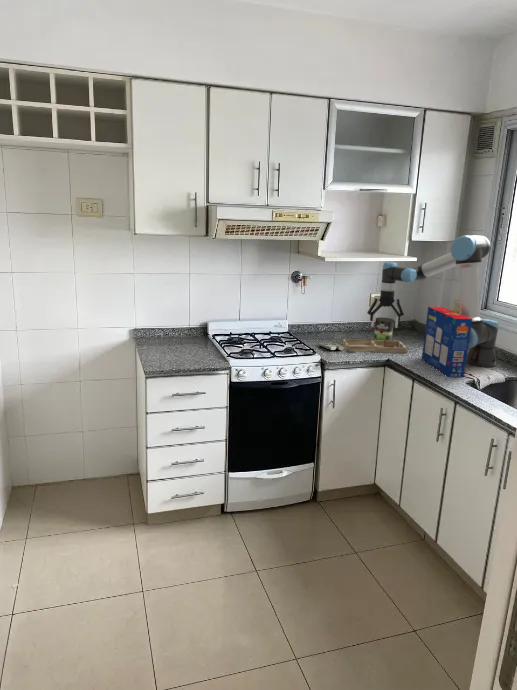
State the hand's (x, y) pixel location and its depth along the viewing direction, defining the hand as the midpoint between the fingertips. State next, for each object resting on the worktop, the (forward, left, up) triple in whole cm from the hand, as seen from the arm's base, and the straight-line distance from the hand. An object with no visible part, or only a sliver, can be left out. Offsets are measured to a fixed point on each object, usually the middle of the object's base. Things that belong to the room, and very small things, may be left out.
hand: (384, 327), depth 296 cm
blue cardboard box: (-44, -19, -10) cm, 49 cm away
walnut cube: (-15, 0, -9) cm, 17 cm away
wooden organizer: (-15, +8, -10) cm, 19 cm away
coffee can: (0, 0, -10) cm, 10 cm away
